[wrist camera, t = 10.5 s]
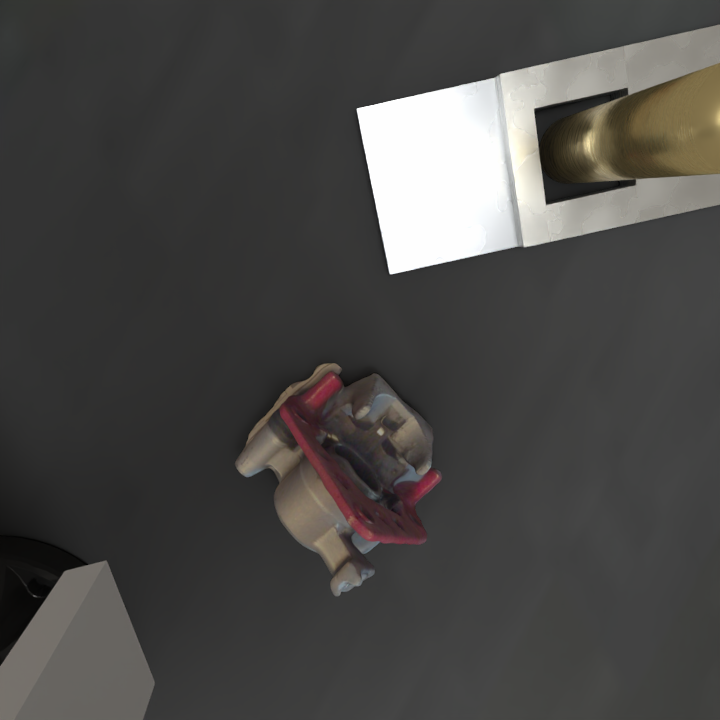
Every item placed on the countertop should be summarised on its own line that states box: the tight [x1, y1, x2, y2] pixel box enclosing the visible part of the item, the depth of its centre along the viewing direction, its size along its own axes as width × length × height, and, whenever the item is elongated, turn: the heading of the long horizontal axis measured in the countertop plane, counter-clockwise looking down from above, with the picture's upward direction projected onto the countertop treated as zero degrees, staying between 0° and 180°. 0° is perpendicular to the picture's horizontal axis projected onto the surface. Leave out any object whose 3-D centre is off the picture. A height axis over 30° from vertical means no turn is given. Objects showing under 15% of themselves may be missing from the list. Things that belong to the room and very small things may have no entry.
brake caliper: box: [235, 363, 442, 596], centre depth 34 cm, size 11×11×12 cm
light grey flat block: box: [495, 25, 720, 247], centre depth 33 cm, size 16×9×2 cm, turn 102°
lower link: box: [356, 78, 628, 274], centre depth 33 cm, size 16×9×1 cm, turn 102°
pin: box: [539, 63, 720, 184], centre depth 27 cm, size 4×4×15 cm
